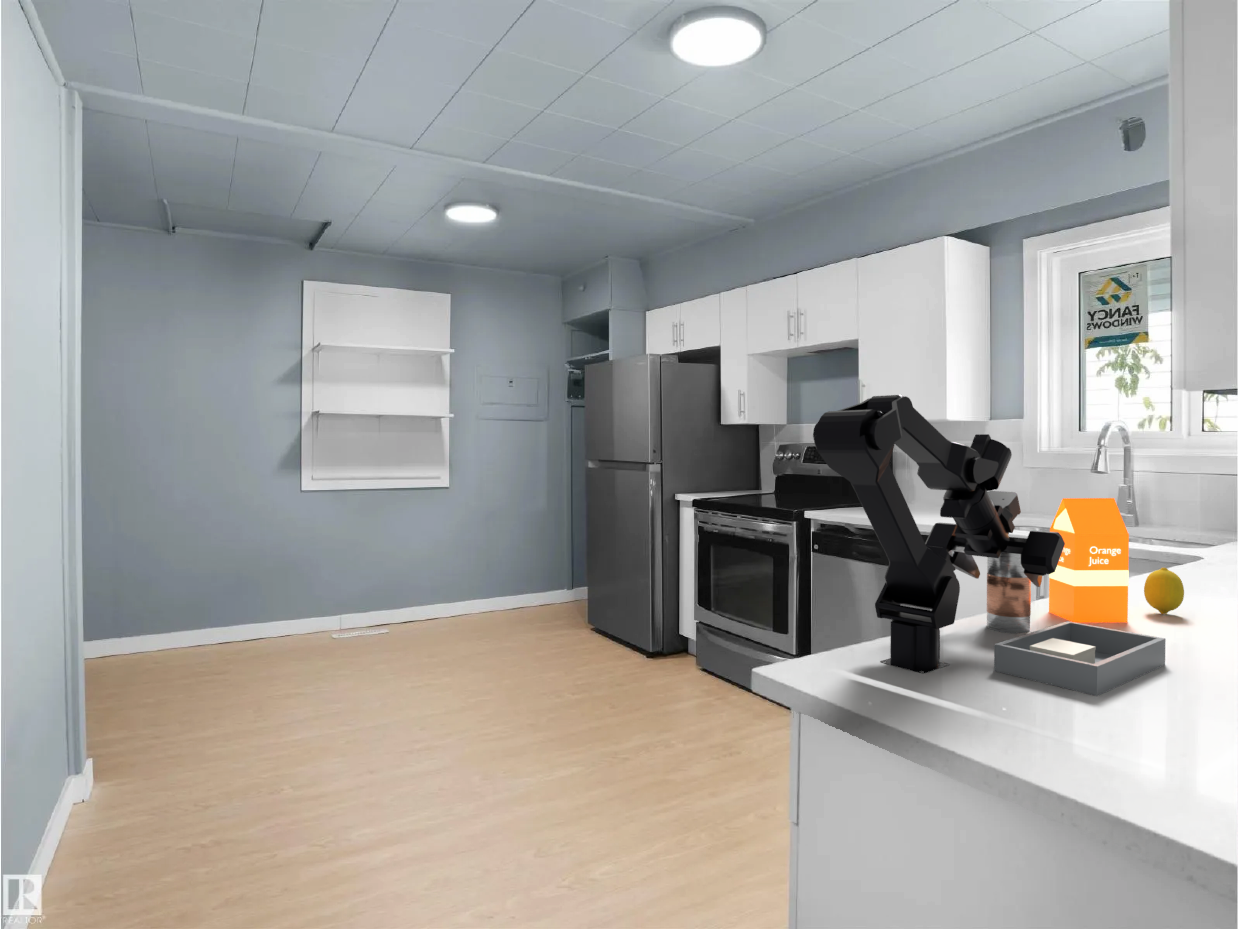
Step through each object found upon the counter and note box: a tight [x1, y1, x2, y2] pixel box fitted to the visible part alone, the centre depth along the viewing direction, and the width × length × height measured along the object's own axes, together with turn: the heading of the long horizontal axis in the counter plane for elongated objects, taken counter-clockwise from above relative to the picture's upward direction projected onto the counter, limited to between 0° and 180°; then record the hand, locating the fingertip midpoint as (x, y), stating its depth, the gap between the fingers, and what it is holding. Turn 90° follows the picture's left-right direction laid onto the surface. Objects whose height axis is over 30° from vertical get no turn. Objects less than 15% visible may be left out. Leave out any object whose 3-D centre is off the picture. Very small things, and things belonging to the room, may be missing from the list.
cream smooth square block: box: [1030, 638, 1096, 664], centre depth 96 cm, size 6×5×4 cm
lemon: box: [1143, 567, 1185, 615], centre depth 130 cm, size 6×6×8 cm
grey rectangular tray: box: [993, 620, 1167, 697], centre depth 98 cm, size 20×12×4 cm, turn 126°
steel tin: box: [986, 552, 1032, 634], centre depth 119 cm, size 6×6×13 cm
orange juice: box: [1048, 497, 1130, 624], centre depth 128 cm, size 8×9×20 cm
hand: (1007, 580), depth 119 cm, fingers open, 9 cm apart
